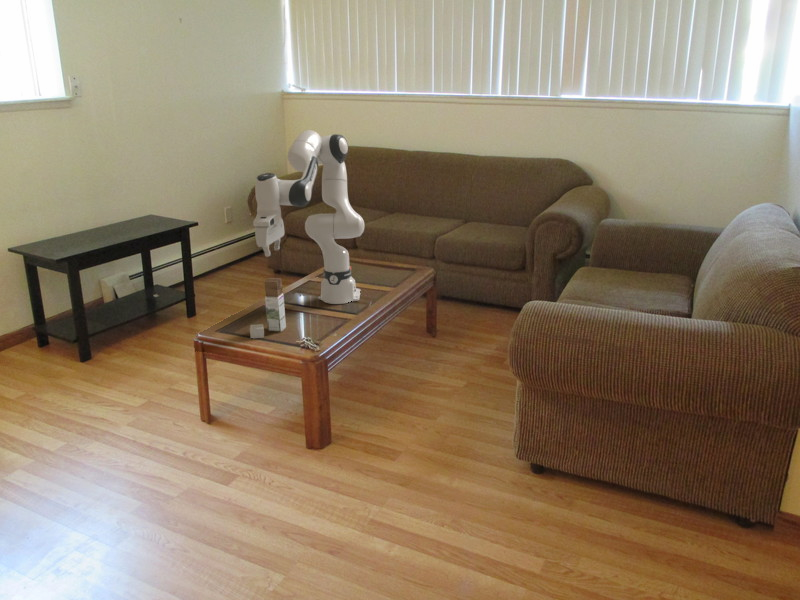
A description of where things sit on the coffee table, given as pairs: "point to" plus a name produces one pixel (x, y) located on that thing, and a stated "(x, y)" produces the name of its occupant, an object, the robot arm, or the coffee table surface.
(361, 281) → the coffee table surface
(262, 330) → the grey block
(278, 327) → the syrup box
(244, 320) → the coffee table surface
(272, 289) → the walnut block
